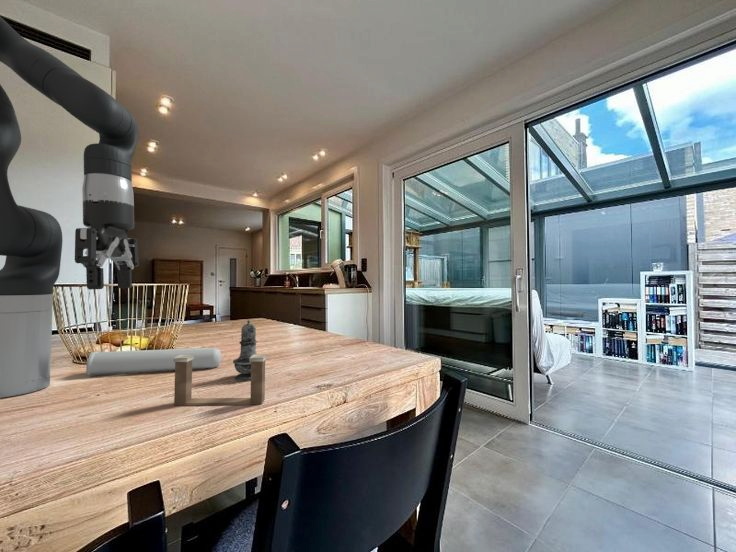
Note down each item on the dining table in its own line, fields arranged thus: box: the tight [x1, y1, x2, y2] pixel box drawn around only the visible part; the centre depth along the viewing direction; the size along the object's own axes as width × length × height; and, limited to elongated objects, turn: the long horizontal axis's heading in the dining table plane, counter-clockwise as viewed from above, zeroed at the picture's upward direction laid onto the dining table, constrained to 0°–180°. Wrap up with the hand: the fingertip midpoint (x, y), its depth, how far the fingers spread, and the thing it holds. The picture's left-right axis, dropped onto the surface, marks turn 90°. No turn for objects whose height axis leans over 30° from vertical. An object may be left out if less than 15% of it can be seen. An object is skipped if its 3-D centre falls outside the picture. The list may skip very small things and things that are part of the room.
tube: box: [85, 347, 222, 377], centre depth 71 cm, size 5×5×25 cm
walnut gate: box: [173, 354, 268, 406], centre depth 52 cm, size 14×2×8 cm, turn 93°
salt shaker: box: [232, 319, 258, 382], centre depth 66 cm, size 6×6×12 cm
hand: (111, 288), depth 59 cm, fingers open, 8 cm apart
